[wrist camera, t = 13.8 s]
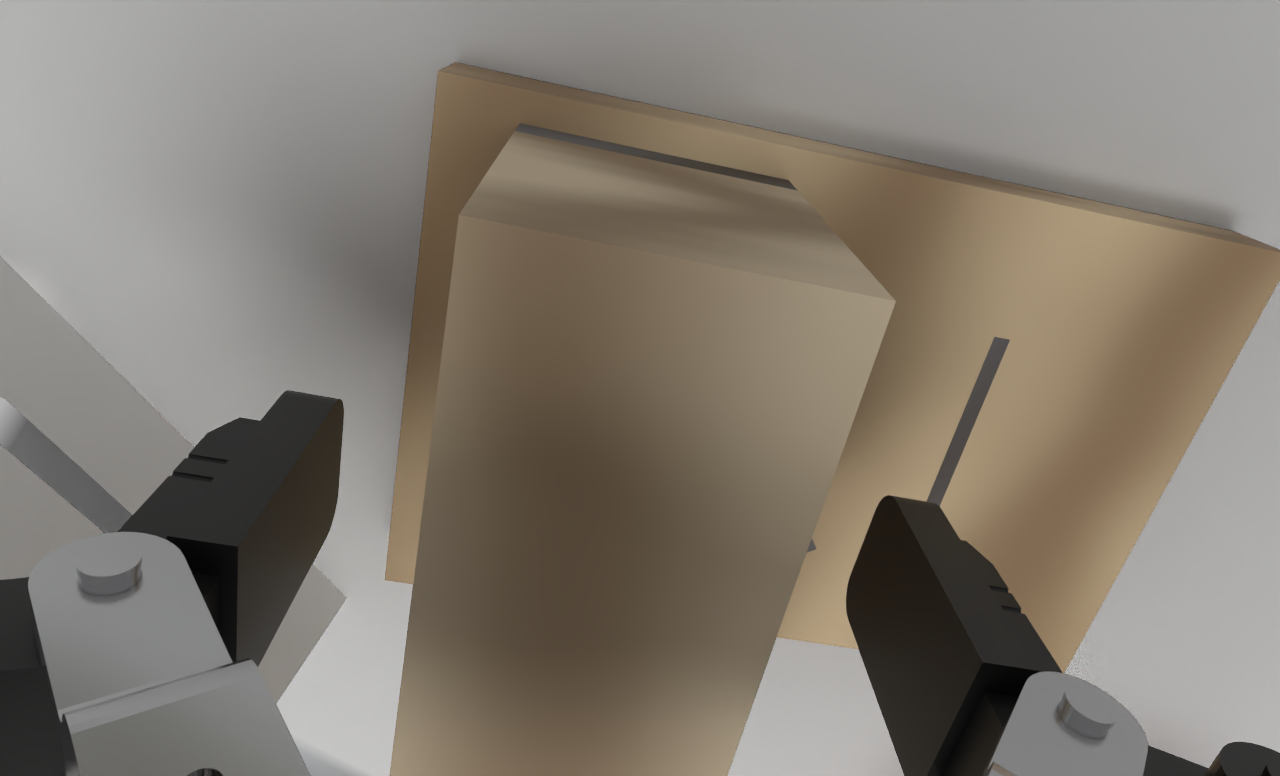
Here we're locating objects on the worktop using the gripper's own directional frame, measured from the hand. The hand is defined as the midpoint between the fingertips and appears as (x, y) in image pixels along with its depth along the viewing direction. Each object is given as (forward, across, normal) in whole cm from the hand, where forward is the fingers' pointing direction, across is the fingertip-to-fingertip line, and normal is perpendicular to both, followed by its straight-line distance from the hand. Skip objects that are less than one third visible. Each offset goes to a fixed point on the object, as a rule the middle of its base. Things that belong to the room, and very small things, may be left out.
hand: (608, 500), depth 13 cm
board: (+5, -4, 0) cm, 6 cm away
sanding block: (+4, 0, 0) cm, 4 cm away
